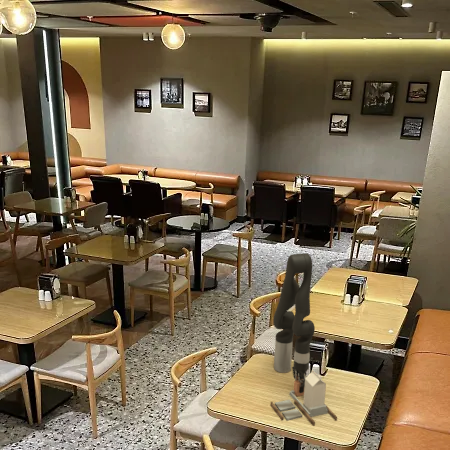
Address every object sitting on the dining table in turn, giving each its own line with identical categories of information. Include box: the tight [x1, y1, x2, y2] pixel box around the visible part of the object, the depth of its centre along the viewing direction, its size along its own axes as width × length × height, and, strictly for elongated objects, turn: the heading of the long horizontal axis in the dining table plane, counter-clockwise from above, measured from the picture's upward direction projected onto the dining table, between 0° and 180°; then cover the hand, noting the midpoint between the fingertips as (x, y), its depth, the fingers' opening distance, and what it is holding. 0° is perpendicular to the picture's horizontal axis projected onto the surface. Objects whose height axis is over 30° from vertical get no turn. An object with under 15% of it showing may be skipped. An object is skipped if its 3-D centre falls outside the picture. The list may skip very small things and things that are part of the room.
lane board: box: [269, 399, 338, 427], centre depth 225 cm, size 20×24×2 cm
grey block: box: [289, 379, 329, 418], centre depth 231 cm, size 20×10×7 cm, turn 20°
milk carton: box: [302, 369, 327, 411], centre depth 225 cm, size 7×7×19 cm
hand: (299, 390), depth 239 cm, fingers closed on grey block, 3 cm apart
